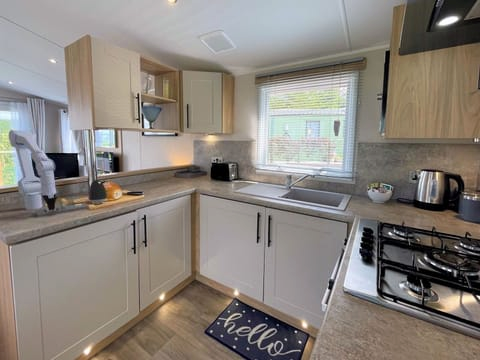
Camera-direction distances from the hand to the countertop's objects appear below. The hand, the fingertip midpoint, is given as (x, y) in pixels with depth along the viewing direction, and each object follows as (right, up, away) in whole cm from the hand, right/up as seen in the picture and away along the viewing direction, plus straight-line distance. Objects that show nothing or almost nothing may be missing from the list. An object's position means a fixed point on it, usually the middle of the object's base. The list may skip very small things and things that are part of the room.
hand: (51, 208), depth 123 cm
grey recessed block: (+4, -3, +4) cm, 6 cm away
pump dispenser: (+11, 0, +23) cm, 26 cm away
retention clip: (+6, +3, +1) cm, 7 cm away
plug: (0, -2, 0) cm, 2 cm away
